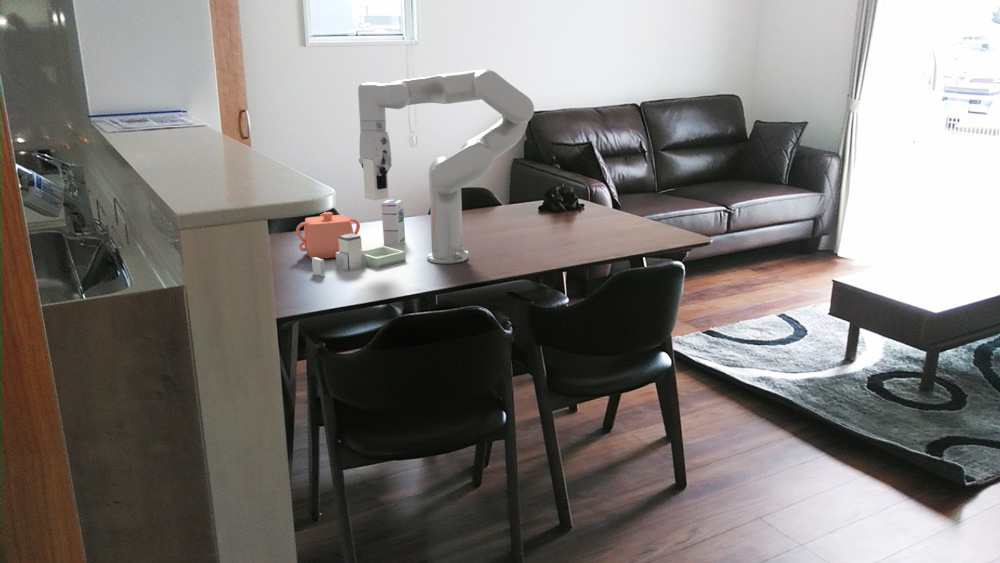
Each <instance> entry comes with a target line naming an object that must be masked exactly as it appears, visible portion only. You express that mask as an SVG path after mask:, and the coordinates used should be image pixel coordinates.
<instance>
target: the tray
mask: <svg viewBox="0 0 1000 563" xmlns="http://www.w3.org/2000/svg"><path fill="white" fill-rule="evenodd" d="M364 250H365V251H366V266H367V267H368V266H369V267H372V268H375V269H381V268H384V267H388V266H391V265H395V264H400V263H404V262H407V258H406V256H407V255H406V254H407V253H406V251H403V250H402V249H397V248H393V247H389V246H387V245H381V246H380V245H379V246H376V247H371V248H368V249H364Z"/></svg>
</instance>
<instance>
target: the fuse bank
mask: <svg viewBox="0 0 1000 563" xmlns="http://www.w3.org/2000/svg"><path fill="white" fill-rule="evenodd" d="M353 233H354V232H353ZM353 233H350V234H345V235H340V236H339V238H338V241H339V252H336V257H335V263H336V264H335V265H336V269H337V270H340V271H343V272H348V271H349V272H350V271H354V270H357V269H363V268H365V267H367V265H366V251H365V250H366V249H363V248H362V247H363V246H362V238H361V235H359V234H357V235H356V234H353ZM311 264H312V275H314V276H316V277H320V278H323V277H326V273H325V271H326V270H325V259H320V258H317V257H313V258H312V259H311Z"/></svg>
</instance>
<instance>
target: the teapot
mask: <svg viewBox="0 0 1000 563" xmlns="http://www.w3.org/2000/svg"><path fill="white" fill-rule="evenodd" d="M352 222H353V223H355V224H356V228H355V230H353V225H352V224H353V223H352ZM302 227H304V228H303V235H302V233H301V232H300V231H301V230H300V229H301V228H302ZM360 229H361V224H360V222H359V221H358V220H357V219H356V218H354V217H353V218H351V217H347V215H345V214H336V215H335V214H334V213H333V212H331V211H327V212H326V211H325V212H324V213H322V214H320V213H319V216H311V217H310V216H309V217H305V219H304V221H303V222H300V223H299V224H298V225H297V226H296V229H295V232H296V235H297V237H298V239H299V240H300V241H301V243H299V245H298V249H299V251H301V252H306V254H307V256H308V257H309V258H310V259H311V260H312V258H313V257H317V258H320V259H323V260H326V259H331V258H336V252H339V241H338V238H339V236H340V235H345V234H350V233H353V234H356V235H359V234H358V233H359V232H360ZM303 246H304V247H303Z"/></svg>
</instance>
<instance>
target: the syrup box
mask: <svg viewBox="0 0 1000 563" xmlns="http://www.w3.org/2000/svg"><path fill="white" fill-rule="evenodd" d="M380 205H381V206H380V207H381V222H382V233H383V237H382V238H383V244H384V245H383V246H393V245H400V246H401V245H402V244H403V243H405V242H406V234H405V217H404V202H403V199H386V200H385V201H383V202H381V203H380Z"/></svg>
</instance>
